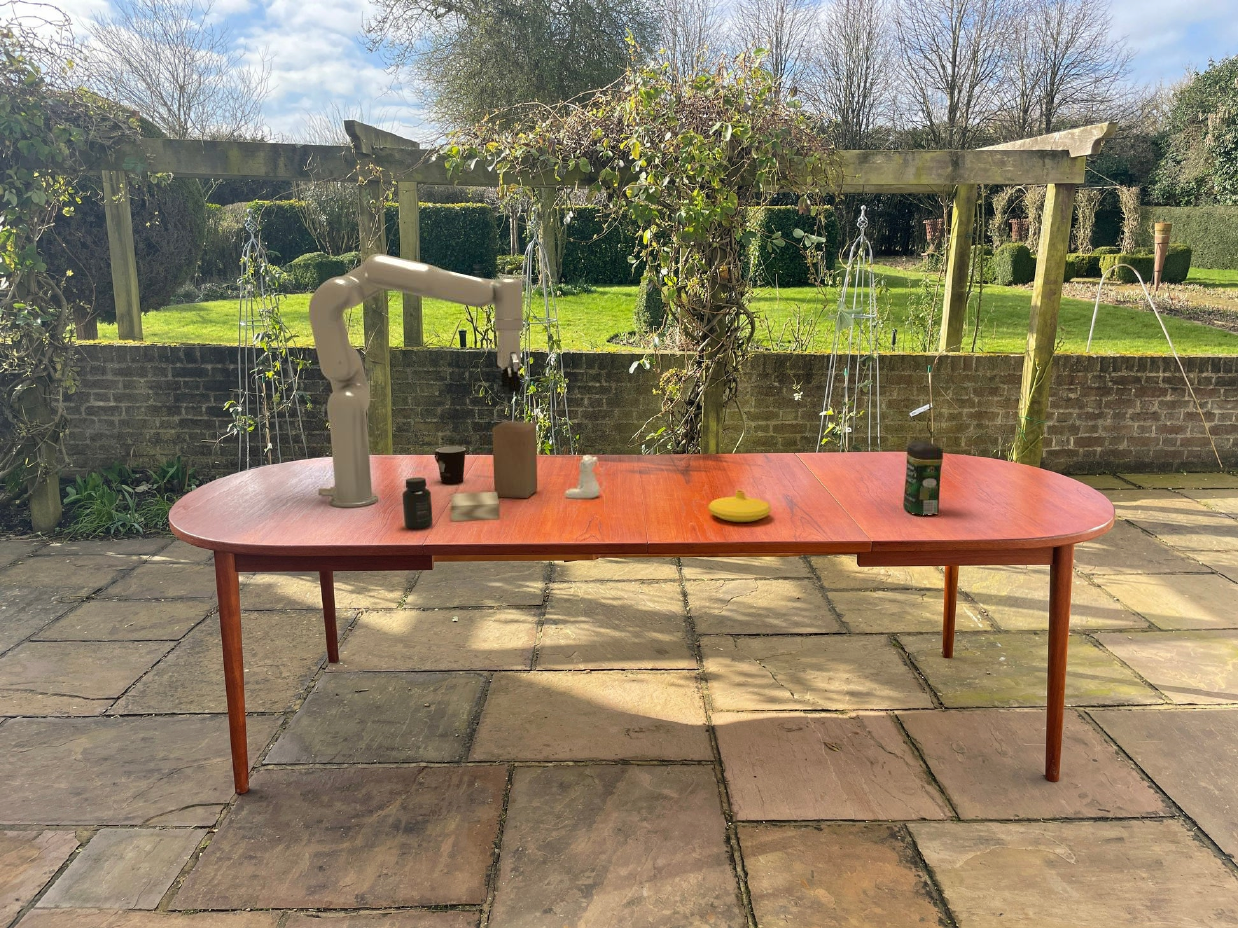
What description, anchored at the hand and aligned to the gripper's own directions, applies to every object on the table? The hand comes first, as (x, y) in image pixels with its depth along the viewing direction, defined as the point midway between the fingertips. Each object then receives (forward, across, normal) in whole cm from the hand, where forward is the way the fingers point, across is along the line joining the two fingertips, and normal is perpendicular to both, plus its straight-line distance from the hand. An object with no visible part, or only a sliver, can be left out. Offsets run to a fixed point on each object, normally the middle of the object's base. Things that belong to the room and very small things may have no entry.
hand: (510, 389), depth 233 cm
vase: (+30, +39, +51) cm, 71 cm away
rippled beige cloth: (+30, +15, -13) cm, 36 cm away
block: (+30, -2, +1) cm, 30 cm away
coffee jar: (+30, +48, +98) cm, 113 cm away
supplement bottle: (+30, +22, -28) cm, 47 cm away
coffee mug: (+30, -23, -15) cm, 41 cm away
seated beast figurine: (+30, +6, +19) cm, 36 cm away
